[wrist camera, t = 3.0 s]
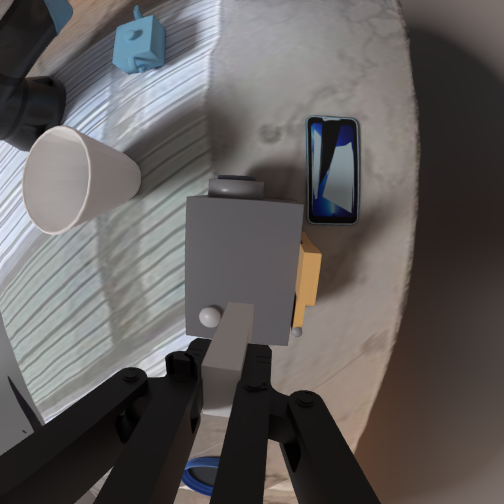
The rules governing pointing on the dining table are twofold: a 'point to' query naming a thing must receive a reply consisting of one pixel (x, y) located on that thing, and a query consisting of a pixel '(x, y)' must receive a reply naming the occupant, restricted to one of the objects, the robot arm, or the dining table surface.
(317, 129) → the smartphone
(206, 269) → the case
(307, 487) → the robot arm
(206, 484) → the blue flat round ring
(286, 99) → the dining table surface
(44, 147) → the cup
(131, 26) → the teapot
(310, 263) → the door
